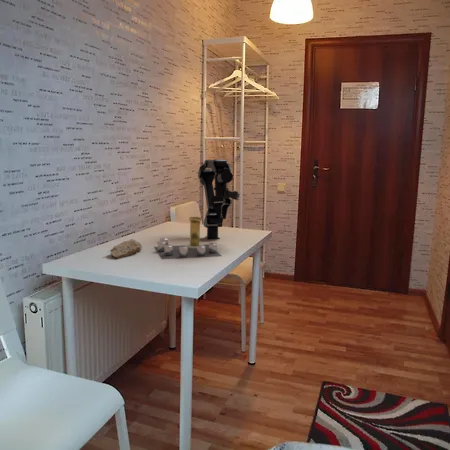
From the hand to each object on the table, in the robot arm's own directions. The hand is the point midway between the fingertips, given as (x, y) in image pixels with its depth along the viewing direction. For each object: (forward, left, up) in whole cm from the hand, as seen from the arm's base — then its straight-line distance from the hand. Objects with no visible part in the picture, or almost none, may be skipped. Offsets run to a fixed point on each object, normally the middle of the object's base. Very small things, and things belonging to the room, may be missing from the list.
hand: (222, 218), depth 210 cm
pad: (+2, -14, -13) cm, 19 cm away
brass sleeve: (+2, -14, -12) cm, 18 cm away
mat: (+10, -19, -13) cm, 25 cm away
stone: (+7, -45, -14) cm, 48 cm away
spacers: (+13, -22, -13) cm, 28 cm away
